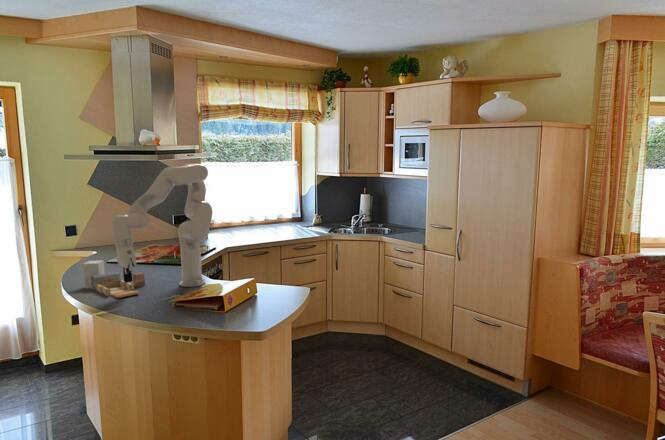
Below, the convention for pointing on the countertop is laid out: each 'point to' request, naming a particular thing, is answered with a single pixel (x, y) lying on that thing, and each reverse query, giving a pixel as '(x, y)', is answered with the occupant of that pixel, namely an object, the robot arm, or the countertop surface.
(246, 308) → the countertop surface
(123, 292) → the panel
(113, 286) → the truck bed
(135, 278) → the block
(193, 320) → the countertop surface
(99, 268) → the supplement box
